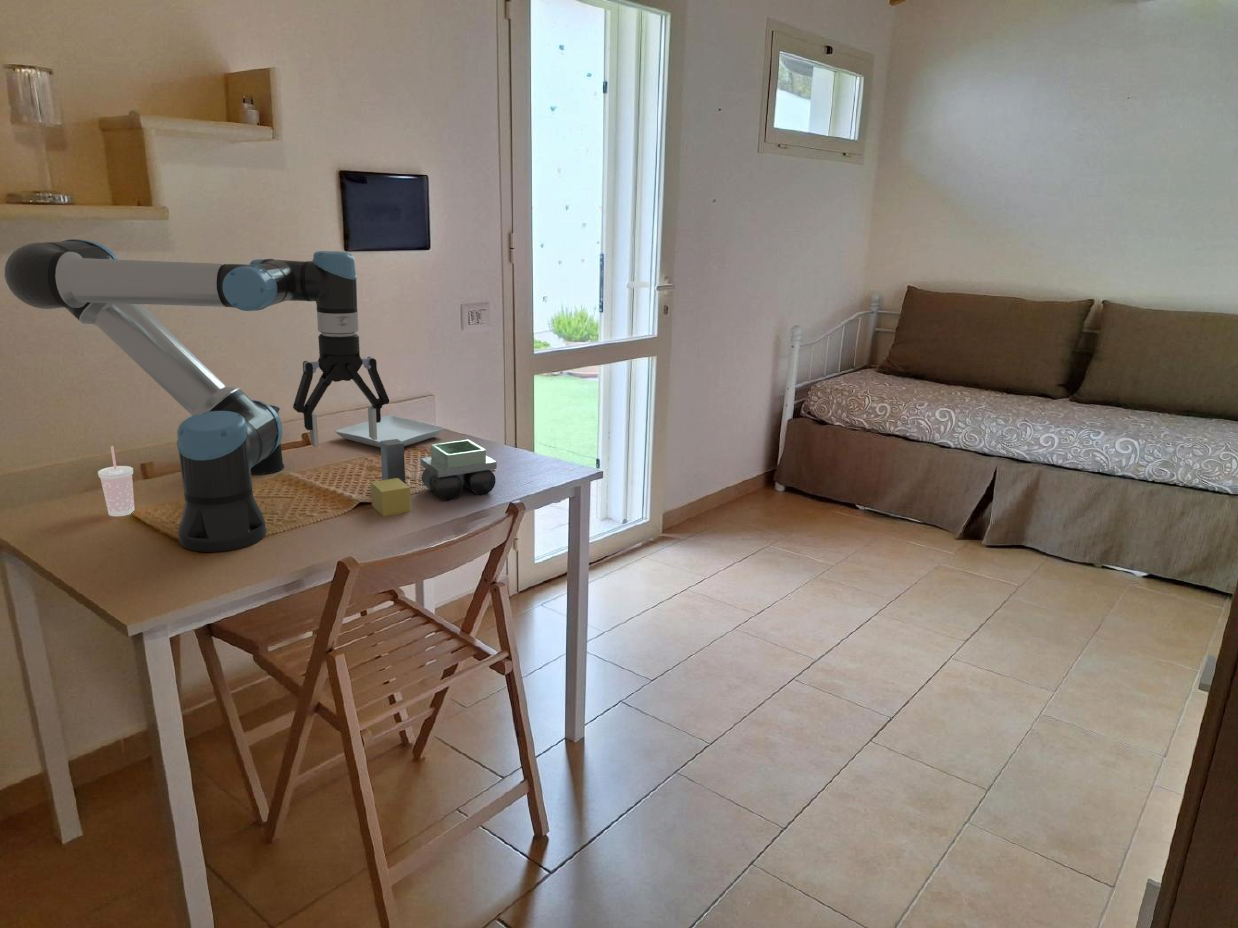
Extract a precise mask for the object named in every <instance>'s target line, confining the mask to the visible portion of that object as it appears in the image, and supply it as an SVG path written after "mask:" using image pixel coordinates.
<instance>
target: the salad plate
mask: <svg viewBox="0 0 1238 928" xmlns="http://www.w3.org/2000/svg"><path fill="white" fill-rule="evenodd" d="M444 430H445V427H443V426H439V425H435V424H432V423H427V422H424V421H420V420H416V419H412V418H406V417H401V416H397V415H393V414H389V415H386V416H382V417H381V421H380V422H379V423H377V440H373V439H372V438H370V437H369V422H368V421H364V422H360V423H356V424H353V425H350V426H345V427H342V428H339V429H336V430H335V433H336V434H337V435H338V436H340V437H341V438H343V439H346V440H349V441H353V442H356V443H360V444H363V445H368V446H370V447H371V446H372V447H375V448H380V449H381V446H380V441H384V440H392V439H398V440H400V441H401V442H403V443H404V447H407V446H411V445H414V444H416V443H417V444H418V443H420V442H423V441H426V440H428V439H431V438H434V437H436V436H438V435H440V434H441V433H442V432H443V431H444Z"/></svg>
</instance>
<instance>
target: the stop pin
mask: <svg viewBox="0 0 1238 928" xmlns="http://www.w3.org/2000/svg"><path fill="white" fill-rule="evenodd" d="M380 446H381V448H380V460H381V461H380V463H381V464H380V465H381V480H388V479H394V478H399V479H400V480H401V481H402V482H404V483H405V484H406V467H405V466H406V465H405V462H406V461H405V446H404V443H403V442H401V441H400V440H398V439H392V440H384V441H380Z"/></svg>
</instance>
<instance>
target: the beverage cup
mask: <svg viewBox="0 0 1238 928" xmlns="http://www.w3.org/2000/svg"><path fill="white" fill-rule="evenodd" d="M110 451H111V457H112V458H111V459H112V464H113V465H112V466H110V467H109V466H108V467H105V468H102V469H100V470H98V471H97V475H98V478H100V482H101V487H102V490H103V495H104V500H105V503H106V509H107V512H108V515H109V516H111V517H124V516H129V515H132V514H133V513H134V512H133V511H134V510H135V500H134V495H135V494H134V482H133V474H134V468H133V466H132V467H131V466H129V465H117V462H116V455H115V448H114V445H111V446H110ZM132 512H133V513H132ZM131 513H132V514H131Z"/></svg>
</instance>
